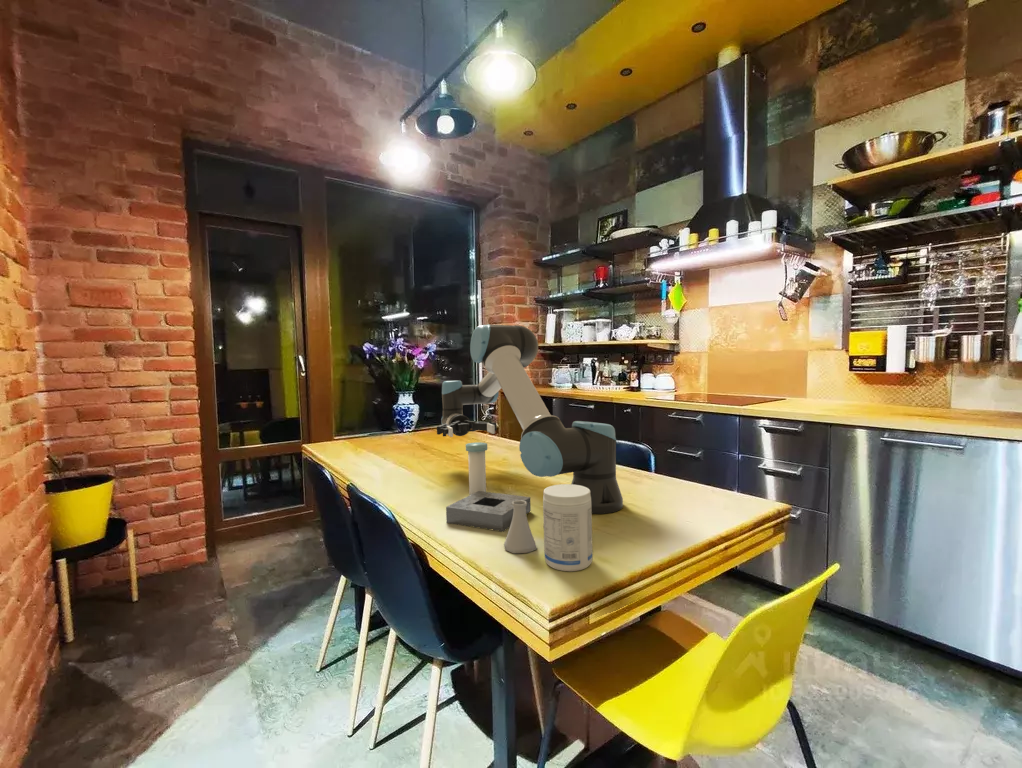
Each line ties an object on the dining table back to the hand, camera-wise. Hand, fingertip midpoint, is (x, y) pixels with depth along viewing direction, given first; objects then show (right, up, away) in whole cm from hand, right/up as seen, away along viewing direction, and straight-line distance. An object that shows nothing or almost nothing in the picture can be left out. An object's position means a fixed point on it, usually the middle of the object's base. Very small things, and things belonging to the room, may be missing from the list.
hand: (472, 430), depth 151 cm
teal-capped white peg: (+2, -19, -9) cm, 21 cm away
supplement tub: (+23, -21, -56) cm, 64 cm away
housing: (+7, -20, -27) cm, 34 cm away
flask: (+14, -21, -48) cm, 54 cm away
